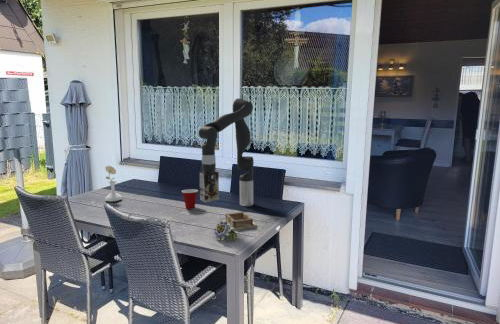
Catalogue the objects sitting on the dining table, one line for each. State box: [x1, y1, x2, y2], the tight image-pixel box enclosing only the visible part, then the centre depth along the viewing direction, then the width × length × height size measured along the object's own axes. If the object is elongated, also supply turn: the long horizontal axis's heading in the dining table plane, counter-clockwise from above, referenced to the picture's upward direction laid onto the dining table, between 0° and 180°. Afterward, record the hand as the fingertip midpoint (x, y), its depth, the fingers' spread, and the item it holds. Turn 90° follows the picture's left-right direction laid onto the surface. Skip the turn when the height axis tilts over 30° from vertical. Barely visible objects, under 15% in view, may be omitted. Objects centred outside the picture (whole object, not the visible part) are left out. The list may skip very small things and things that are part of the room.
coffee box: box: [199, 170, 220, 203], centre depth 207 cm, size 9×6×16 cm
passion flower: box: [212, 220, 240, 243], centre depth 191 cm, size 11×11×12 cm
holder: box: [221, 211, 258, 231], centre depth 213 cm, size 16×16×4 cm
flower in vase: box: [104, 165, 123, 203], centre depth 260 cm, size 13×11×25 cm
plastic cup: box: [181, 188, 199, 210], centre depth 243 cm, size 11×11×12 cm
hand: (209, 191), depth 207 cm, fingers closed on coffee box, 7 cm apart
